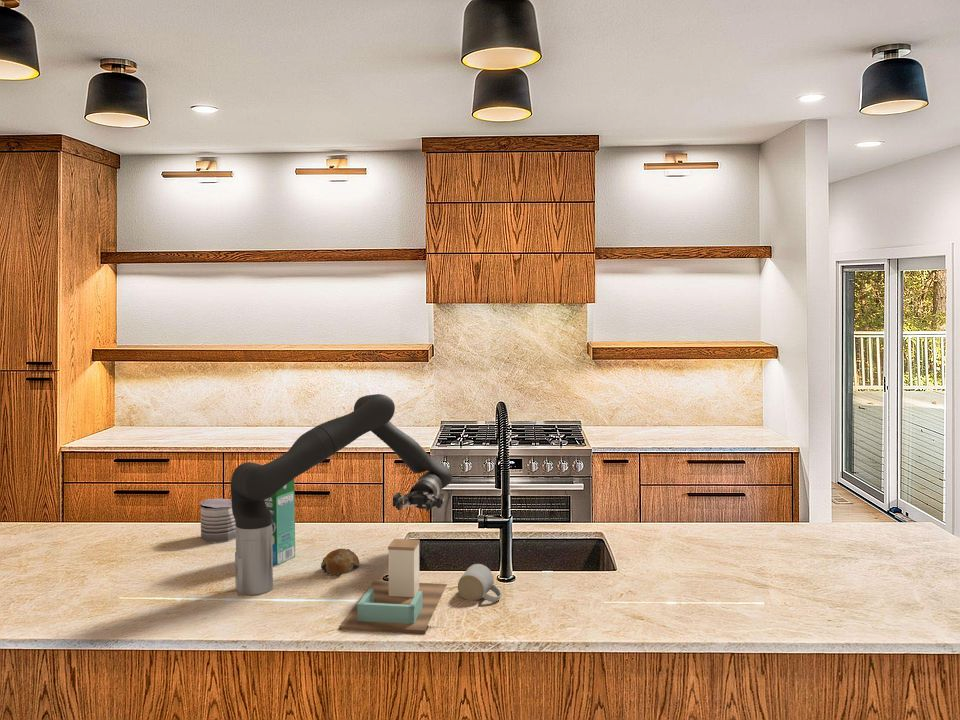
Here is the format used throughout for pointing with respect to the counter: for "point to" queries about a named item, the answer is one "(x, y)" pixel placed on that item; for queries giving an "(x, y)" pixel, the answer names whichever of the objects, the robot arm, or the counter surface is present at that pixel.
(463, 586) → the ceramic mug
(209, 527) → the can
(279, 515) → the milk carton
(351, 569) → the bread roll
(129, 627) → the counter surface
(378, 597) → the board
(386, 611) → the dock
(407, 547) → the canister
